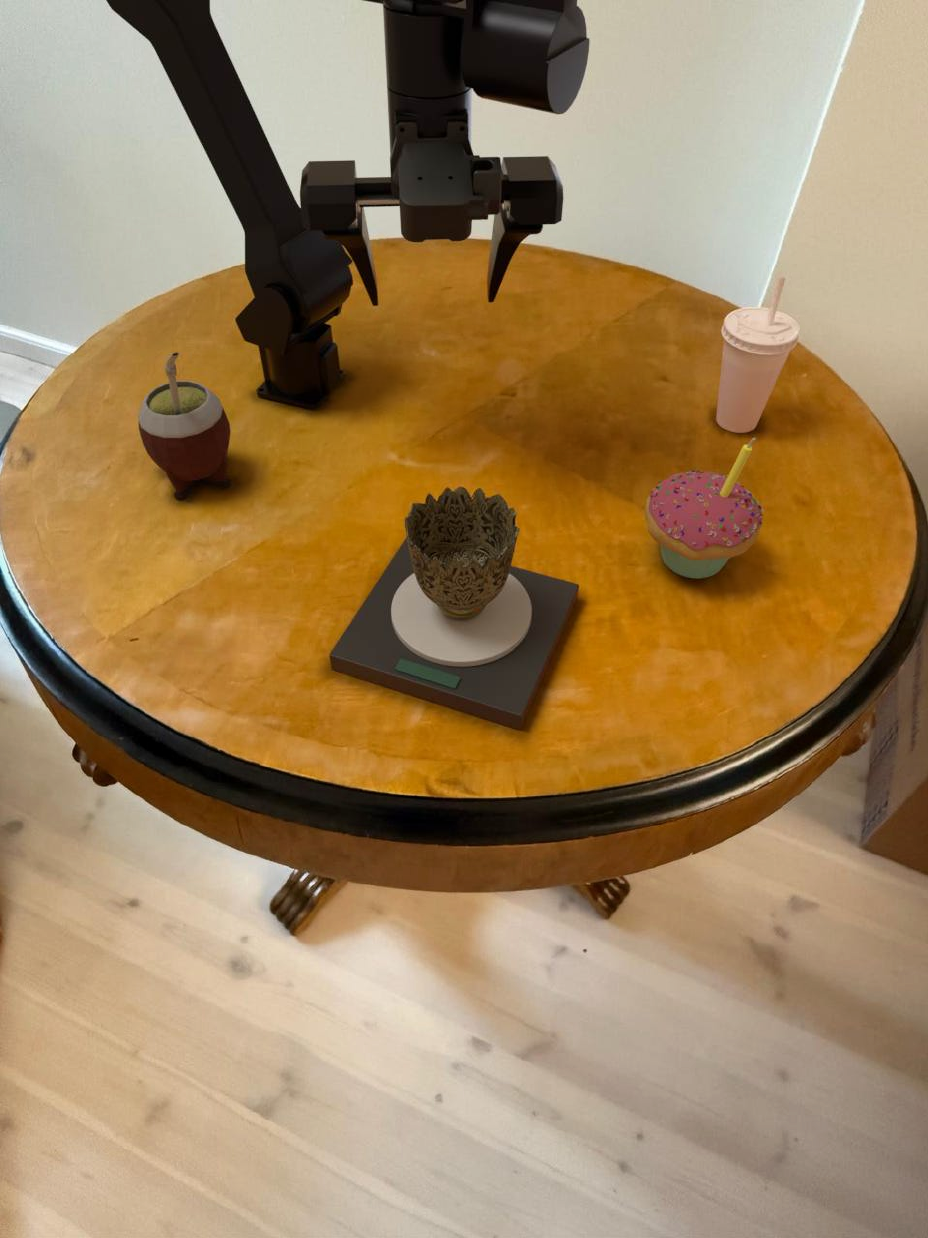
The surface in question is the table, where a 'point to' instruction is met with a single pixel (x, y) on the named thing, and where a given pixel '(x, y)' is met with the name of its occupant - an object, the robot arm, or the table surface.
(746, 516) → the cupcake
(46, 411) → the table surface
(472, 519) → the cup
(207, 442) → the mate gourd
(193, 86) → the robot arm
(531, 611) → the scale
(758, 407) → the smoothie
